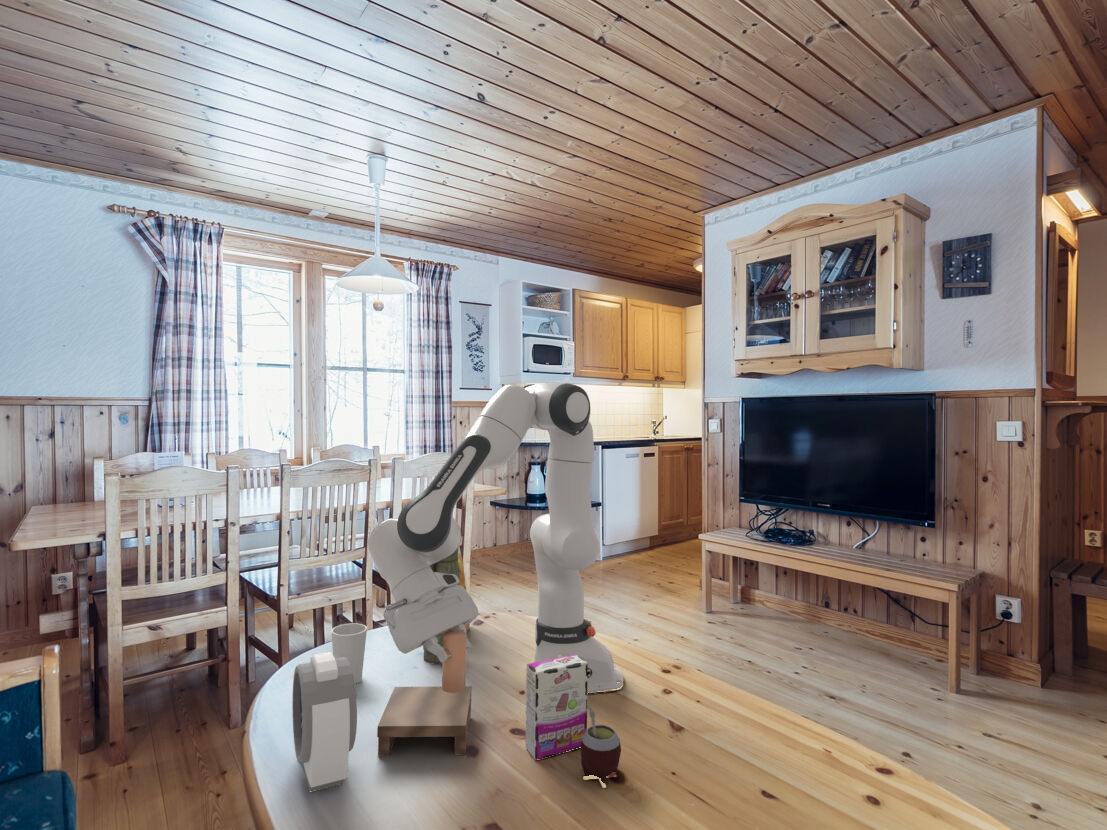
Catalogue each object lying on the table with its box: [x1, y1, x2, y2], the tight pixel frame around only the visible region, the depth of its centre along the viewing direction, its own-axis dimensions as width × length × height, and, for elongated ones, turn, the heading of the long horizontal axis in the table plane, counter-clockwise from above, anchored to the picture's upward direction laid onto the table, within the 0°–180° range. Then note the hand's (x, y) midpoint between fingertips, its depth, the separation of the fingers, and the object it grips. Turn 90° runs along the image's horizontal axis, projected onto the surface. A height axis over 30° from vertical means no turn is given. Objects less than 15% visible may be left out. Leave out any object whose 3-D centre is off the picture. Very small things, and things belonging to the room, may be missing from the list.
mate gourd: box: [579, 704, 622, 783], centre depth 105 cm, size 8×8×15 cm
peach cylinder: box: [441, 631, 468, 693], centre depth 114 cm, size 4×4×10 cm
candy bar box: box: [525, 654, 588, 761], centre depth 115 cm, size 11×5×16 cm, turn 117°
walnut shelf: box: [376, 685, 473, 757], centre depth 118 cm, size 16×16×6 cm
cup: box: [330, 622, 368, 685], centre depth 142 cm, size 8×8×12 cm
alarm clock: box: [291, 651, 358, 792], centre depth 106 cm, size 18×8×20 cm, turn 29°
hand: (457, 654), depth 113 cm, fingers closed on peach cylinder, 4 cm apart
